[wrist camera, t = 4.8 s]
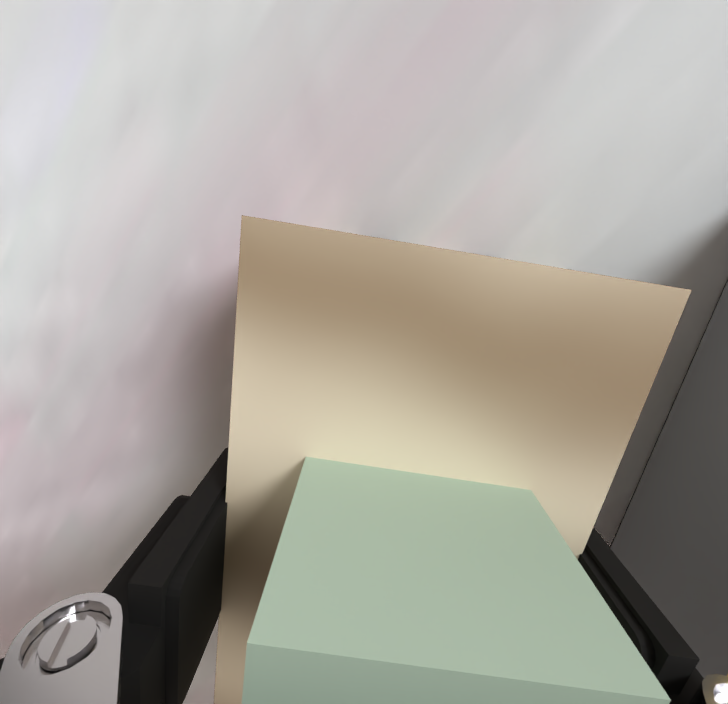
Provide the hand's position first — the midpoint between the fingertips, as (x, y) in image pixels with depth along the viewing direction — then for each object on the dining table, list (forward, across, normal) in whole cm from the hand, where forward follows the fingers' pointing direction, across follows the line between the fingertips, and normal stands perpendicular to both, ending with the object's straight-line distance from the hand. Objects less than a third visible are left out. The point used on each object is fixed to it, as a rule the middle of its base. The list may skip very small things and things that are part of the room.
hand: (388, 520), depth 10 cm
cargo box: (-2, 0, 0) cm, 2 cm away
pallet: (+2, 0, 0) cm, 2 cm away
